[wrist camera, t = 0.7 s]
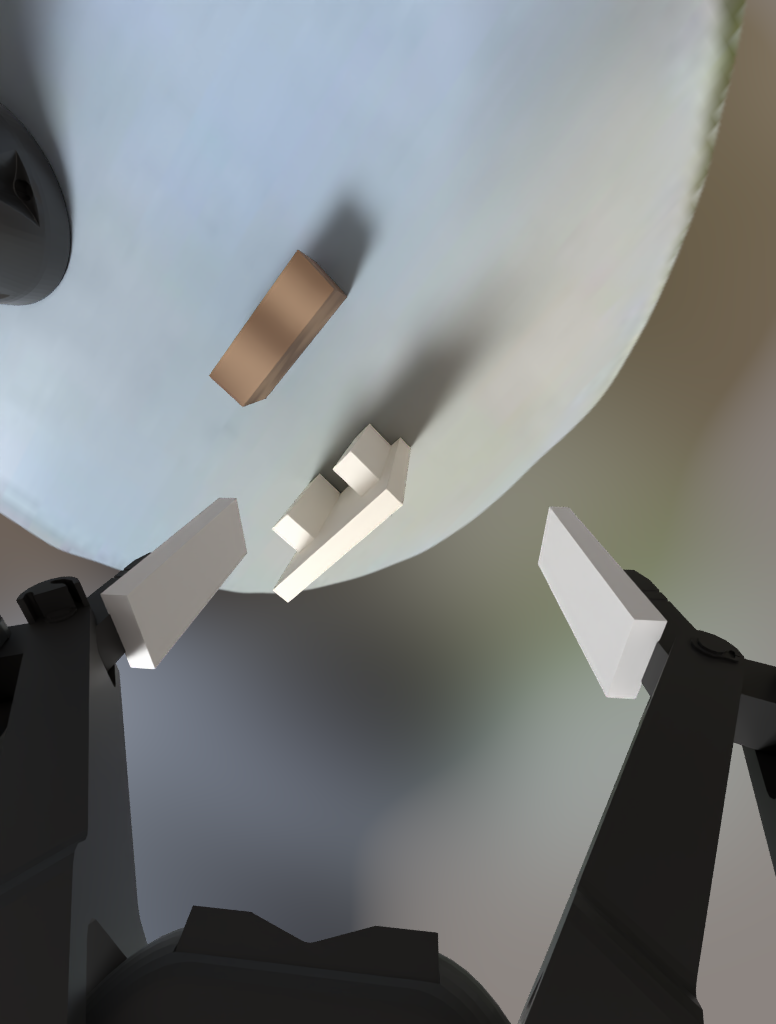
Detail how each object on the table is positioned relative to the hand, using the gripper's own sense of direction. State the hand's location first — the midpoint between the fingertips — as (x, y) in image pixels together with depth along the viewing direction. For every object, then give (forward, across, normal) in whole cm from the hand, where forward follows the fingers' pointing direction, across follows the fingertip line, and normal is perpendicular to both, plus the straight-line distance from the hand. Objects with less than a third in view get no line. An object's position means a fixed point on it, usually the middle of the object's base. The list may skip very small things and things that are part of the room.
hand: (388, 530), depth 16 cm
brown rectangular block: (+22, -11, +8) cm, 26 cm away
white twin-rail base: (+22, -6, -4) cm, 23 cm away
